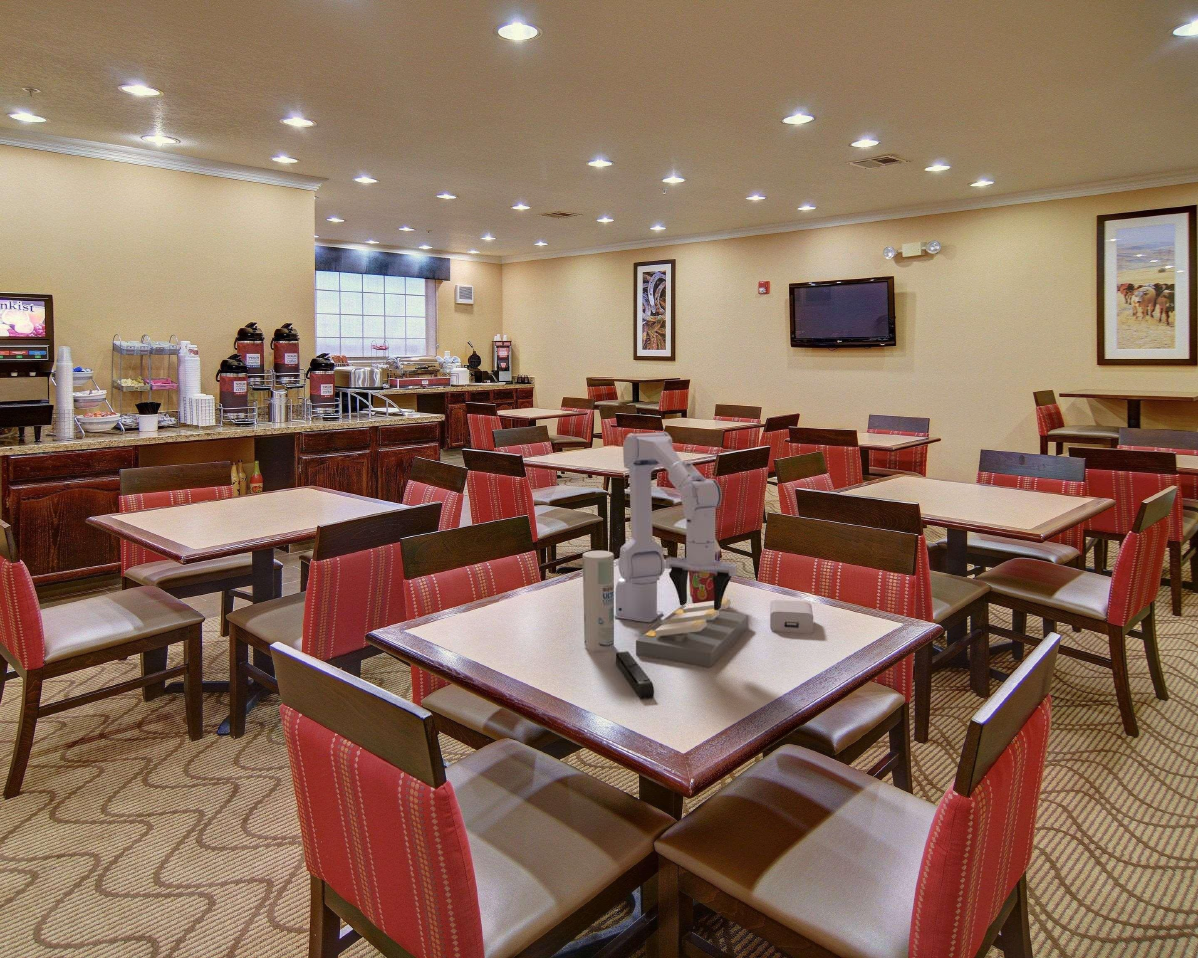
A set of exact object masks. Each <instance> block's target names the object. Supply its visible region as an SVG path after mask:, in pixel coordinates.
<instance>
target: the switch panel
mask: <svg viewBox="0 0 1198 958" xmlns="http://www.w3.org/2000/svg"><path fill="white" fill-rule="evenodd" d="M686 606H687V605H683V606H682V605H680V607H678V608H676V609H675V610H674V611H673V612H672V613H670V614H669V615H668V616H667V617H665V618H664V619H662V620H661V621H660V622H658V623H657V624H655V625H654V626H653V627H652V628H650V629H649V630H648V631H646V632H645V633H643V635H640V637H639V638H637V639H636V640H635V656H642V657H648V658H652V659H659V660H665V661H671V662H676V663H682V664H688V665H694V666H699V667H704V668H705V667H706V668H711V667H713V666H714V665H715V664H716V662H718V661H719V659H720V658H721V657H722V656H723V655H724V654H726V652H727V651H728V650H729V649H730V648H731V647H732V645H734V644H735V643H736V641H738V639H739V638H741V636H742V635H743V634H744V633H745V632H746V631H747V630H748V629H749V622H750V621H749V614H743V613H738V612H731V611H725V610H724V611H723V610H719V615H718V616H717V617H716V618H715V619H713V620H706V623H707V626H706V627H704V628H703V629H702V630H701V631H697V632H688V633H680V634H672V635H663V636H656V635H655V630H656V629H657V628H659V627H660V626H661V625H666V624H670V621H669V619H670V618H672V617H673V616H674V615H676V614H681V613H683V608H685V607H686Z"/></svg>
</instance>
